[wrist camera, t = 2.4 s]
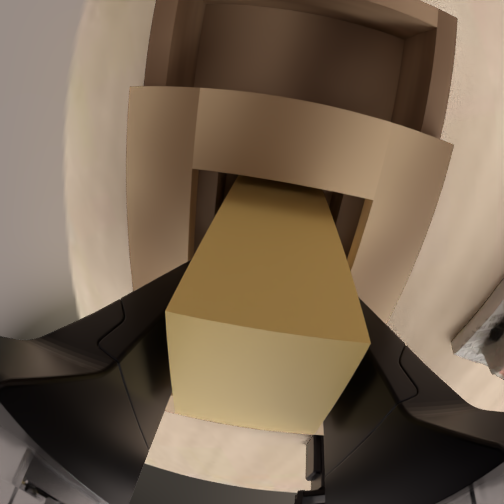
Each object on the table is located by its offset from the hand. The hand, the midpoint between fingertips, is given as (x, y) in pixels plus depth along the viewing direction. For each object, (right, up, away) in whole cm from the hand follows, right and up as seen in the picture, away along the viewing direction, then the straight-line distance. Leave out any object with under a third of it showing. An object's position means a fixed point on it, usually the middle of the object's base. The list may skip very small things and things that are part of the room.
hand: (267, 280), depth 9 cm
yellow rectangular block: (0, +3, +5) cm, 5 cm away
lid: (0, 0, +2) cm, 2 cm away
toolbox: (+1, +4, +5) cm, 6 cm away
